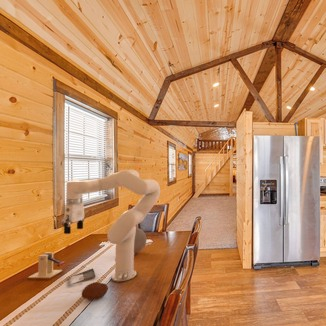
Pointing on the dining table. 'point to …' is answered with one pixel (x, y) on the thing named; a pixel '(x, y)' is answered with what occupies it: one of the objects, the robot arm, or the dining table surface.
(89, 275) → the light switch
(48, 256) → the lever
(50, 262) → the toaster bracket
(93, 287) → the potato
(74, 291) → the dining table surface
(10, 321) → the dining table surface
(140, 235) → the planter
